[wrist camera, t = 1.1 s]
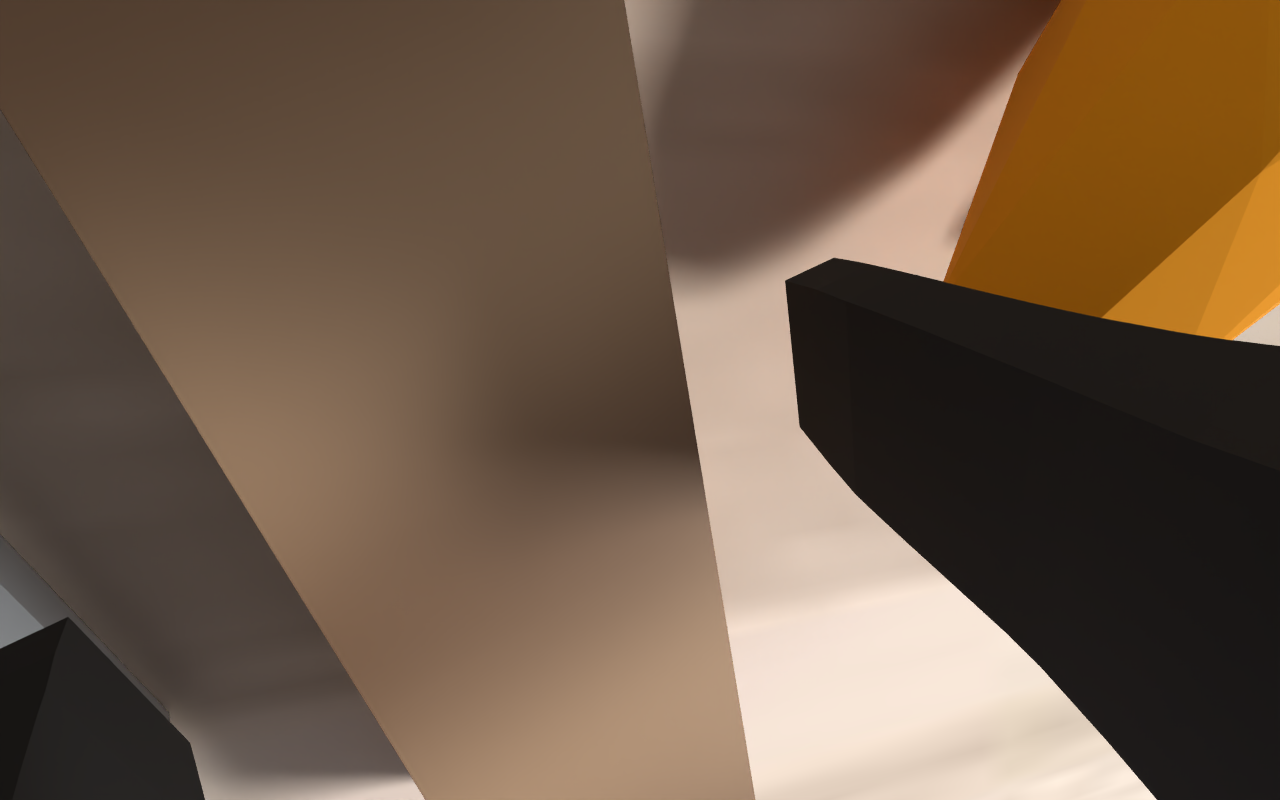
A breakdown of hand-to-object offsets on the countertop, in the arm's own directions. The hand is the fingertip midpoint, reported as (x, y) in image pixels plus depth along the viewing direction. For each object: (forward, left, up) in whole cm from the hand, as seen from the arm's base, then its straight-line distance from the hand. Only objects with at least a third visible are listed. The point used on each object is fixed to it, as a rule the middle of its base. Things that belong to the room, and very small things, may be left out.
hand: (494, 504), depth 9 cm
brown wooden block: (0, 0, -4) cm, 4 cm away
